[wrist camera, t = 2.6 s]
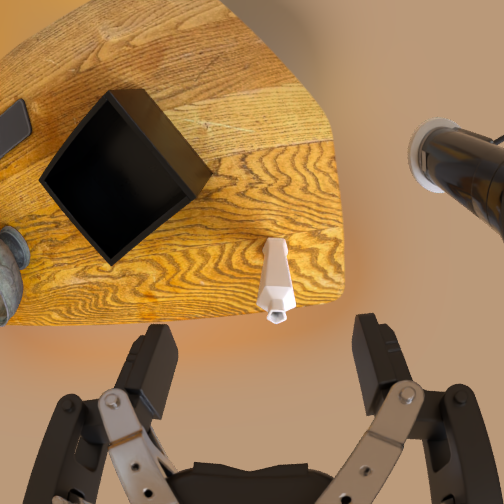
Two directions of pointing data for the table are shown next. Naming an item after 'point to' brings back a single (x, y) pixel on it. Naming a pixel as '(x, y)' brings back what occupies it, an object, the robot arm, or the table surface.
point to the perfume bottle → (275, 281)
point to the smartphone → (14, 126)
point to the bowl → (11, 271)
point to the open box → (123, 172)
